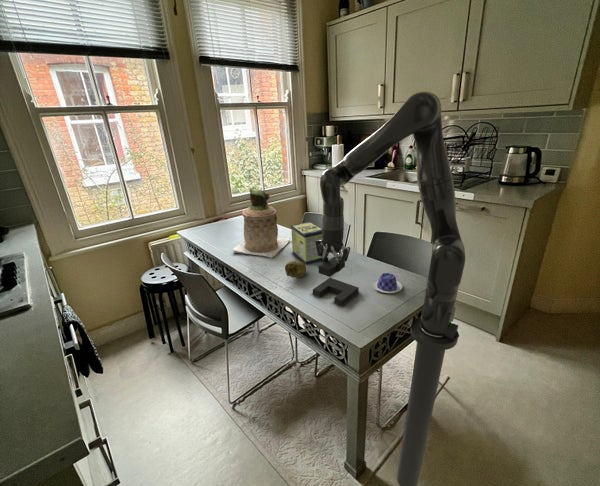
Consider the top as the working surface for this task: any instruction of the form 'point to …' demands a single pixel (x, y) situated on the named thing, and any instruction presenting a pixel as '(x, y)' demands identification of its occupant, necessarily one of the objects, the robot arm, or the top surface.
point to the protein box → (306, 242)
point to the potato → (295, 269)
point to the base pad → (337, 290)
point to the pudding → (387, 283)
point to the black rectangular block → (329, 267)
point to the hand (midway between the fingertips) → (331, 269)
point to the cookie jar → (260, 228)
